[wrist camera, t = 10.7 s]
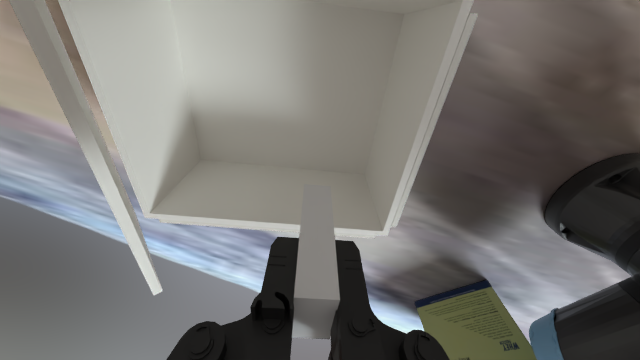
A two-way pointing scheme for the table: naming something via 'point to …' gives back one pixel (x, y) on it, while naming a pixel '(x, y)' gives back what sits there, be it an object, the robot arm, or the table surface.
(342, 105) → the carton
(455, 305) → the protein box
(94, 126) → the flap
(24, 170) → the table surface
